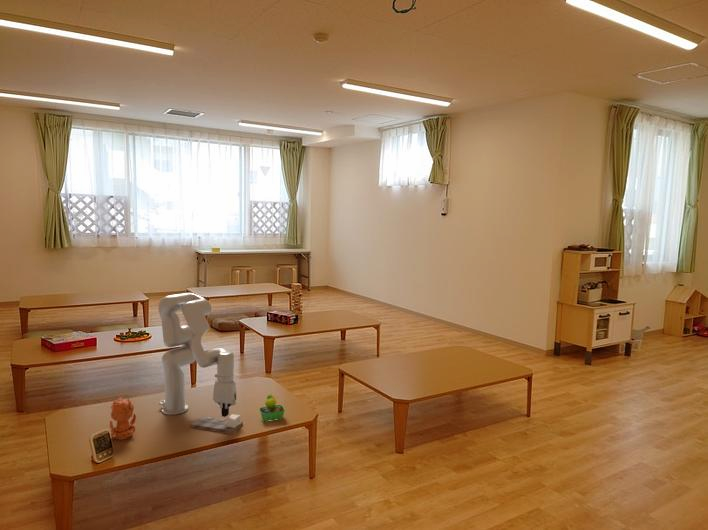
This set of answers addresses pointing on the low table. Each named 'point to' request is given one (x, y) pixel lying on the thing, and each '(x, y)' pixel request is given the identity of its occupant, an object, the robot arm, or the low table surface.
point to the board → (214, 424)
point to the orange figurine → (122, 419)
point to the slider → (233, 420)
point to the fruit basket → (271, 409)
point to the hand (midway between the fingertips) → (225, 415)
